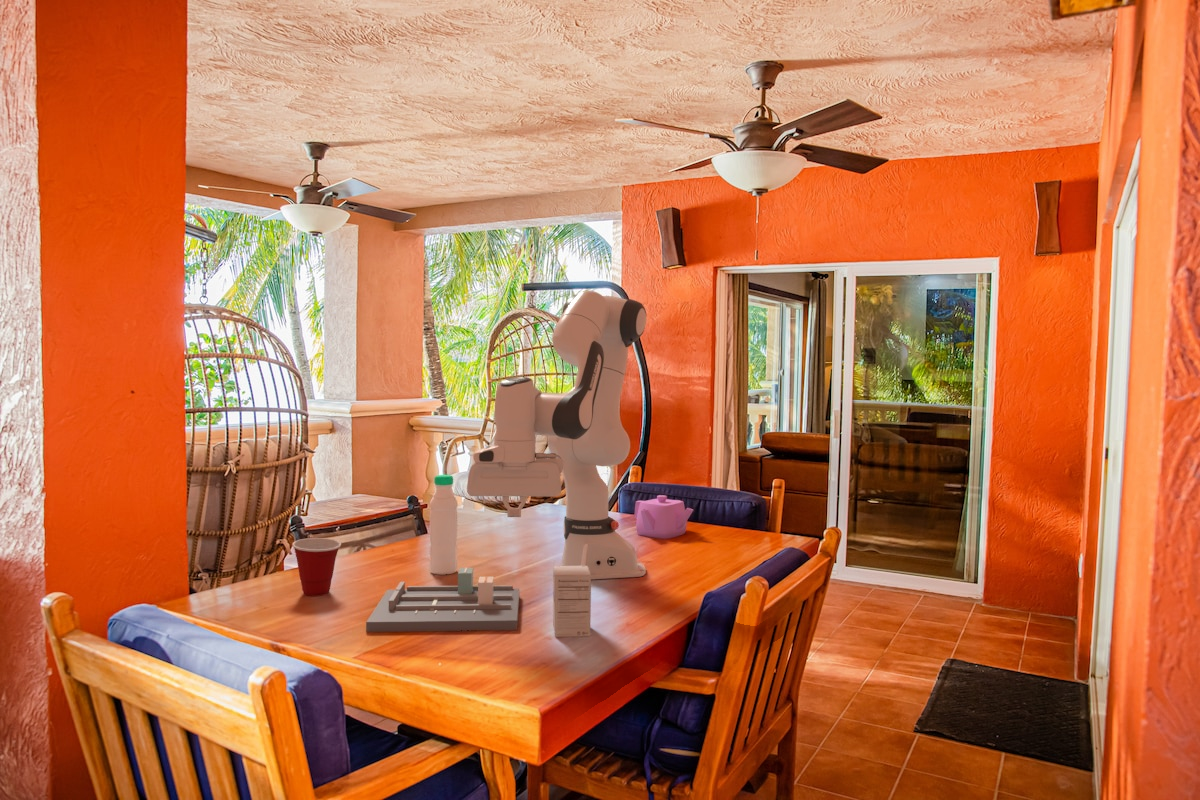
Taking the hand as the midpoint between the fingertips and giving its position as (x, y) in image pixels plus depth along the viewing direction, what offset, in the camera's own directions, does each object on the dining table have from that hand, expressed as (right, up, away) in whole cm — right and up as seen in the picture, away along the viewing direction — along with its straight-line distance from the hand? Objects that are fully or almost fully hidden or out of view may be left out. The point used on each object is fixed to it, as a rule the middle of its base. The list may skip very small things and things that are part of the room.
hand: (514, 516), depth 181 cm
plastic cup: (-47, -20, +14) cm, 53 cm away
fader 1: (-12, -18, +8) cm, 23 cm away
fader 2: (-6, -19, 0) cm, 20 cm away
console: (-14, -21, 0) cm, 25 cm away
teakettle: (+38, -18, +87) cm, 97 cm away
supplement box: (+13, -22, -11) cm, 28 cm away
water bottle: (-22, -19, +35) cm, 46 cm away
